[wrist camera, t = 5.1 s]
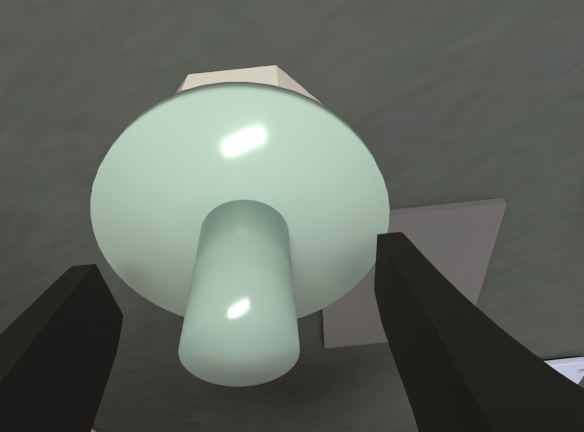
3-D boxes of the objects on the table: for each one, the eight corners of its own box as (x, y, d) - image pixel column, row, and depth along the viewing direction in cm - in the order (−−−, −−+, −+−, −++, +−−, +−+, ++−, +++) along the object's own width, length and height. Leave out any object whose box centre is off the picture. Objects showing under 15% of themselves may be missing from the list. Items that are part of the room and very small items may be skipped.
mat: (464, 327, 23) (467, 333, 22) (323, 342, 23) (324, 348, 22) (502, 198, 17) (507, 203, 17) (316, 217, 17) (317, 223, 17)
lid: (387, 287, 15) (431, 417, 11) (164, 325, 15) (132, 461, 11) (376, 49, 10) (453, 139, 6) (38, 118, 10) (-97, 243, 6)
